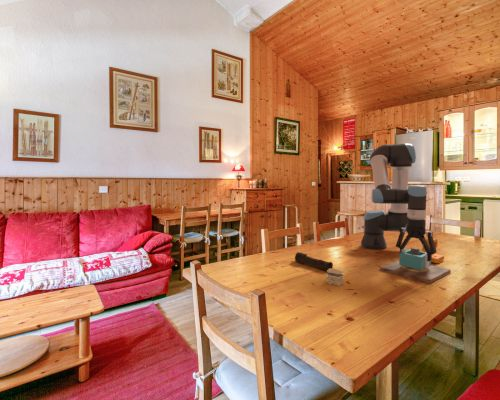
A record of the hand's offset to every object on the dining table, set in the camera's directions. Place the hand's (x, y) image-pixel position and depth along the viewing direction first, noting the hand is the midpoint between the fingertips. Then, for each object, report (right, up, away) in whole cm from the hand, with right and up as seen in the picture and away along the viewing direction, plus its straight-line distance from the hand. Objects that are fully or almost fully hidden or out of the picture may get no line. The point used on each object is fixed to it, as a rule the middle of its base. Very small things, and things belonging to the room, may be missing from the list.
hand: (414, 264), depth 133 cm
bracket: (+19, -2, +16) cm, 25 cm away
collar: (0, 0, 0) cm, 0 cm away
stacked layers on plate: (-42, -5, -12) cm, 44 cm away
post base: (0, -3, 0) cm, 3 cm away
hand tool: (-47, -3, +10) cm, 48 cm away
